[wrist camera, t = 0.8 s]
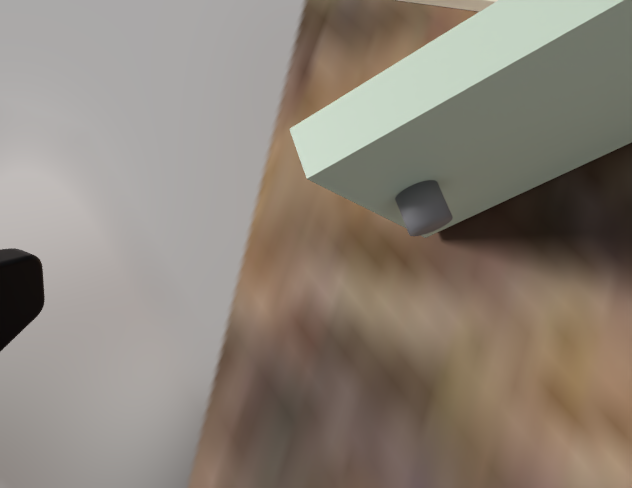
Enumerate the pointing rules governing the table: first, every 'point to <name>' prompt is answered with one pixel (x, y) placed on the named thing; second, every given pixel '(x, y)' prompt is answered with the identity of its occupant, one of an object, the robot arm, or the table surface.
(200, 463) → the table surface
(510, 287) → the table surface
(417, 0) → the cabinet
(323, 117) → the door
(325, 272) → the table surface
